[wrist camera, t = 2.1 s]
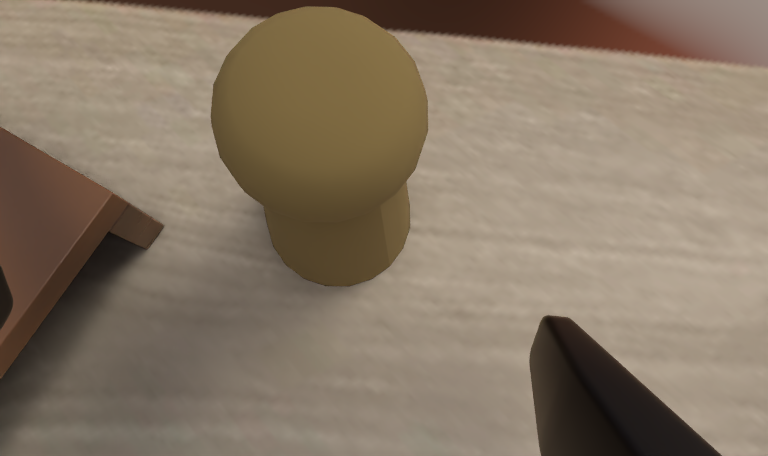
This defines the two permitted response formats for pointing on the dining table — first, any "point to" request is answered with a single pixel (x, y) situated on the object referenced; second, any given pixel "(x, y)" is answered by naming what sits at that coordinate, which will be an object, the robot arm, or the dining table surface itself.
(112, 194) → the wooden stand
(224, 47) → the dining table surface
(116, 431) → the dining table surface
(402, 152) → the tan rounded tall piece
